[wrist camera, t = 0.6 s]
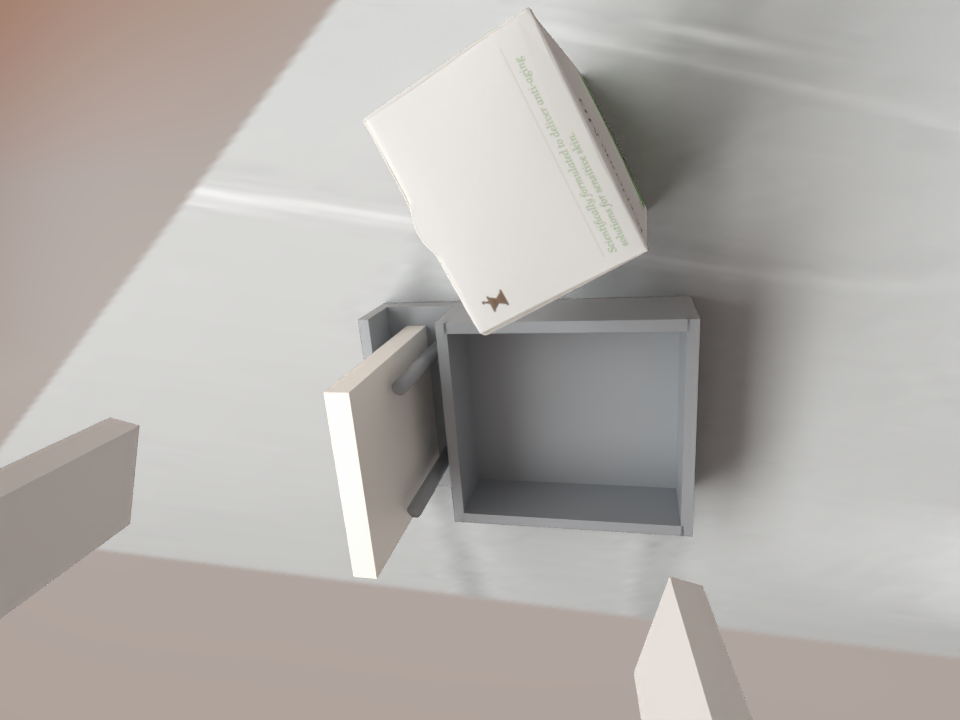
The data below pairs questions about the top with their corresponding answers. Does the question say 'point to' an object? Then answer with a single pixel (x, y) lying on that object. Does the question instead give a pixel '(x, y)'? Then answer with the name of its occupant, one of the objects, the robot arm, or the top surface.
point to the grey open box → (519, 419)
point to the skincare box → (511, 174)
